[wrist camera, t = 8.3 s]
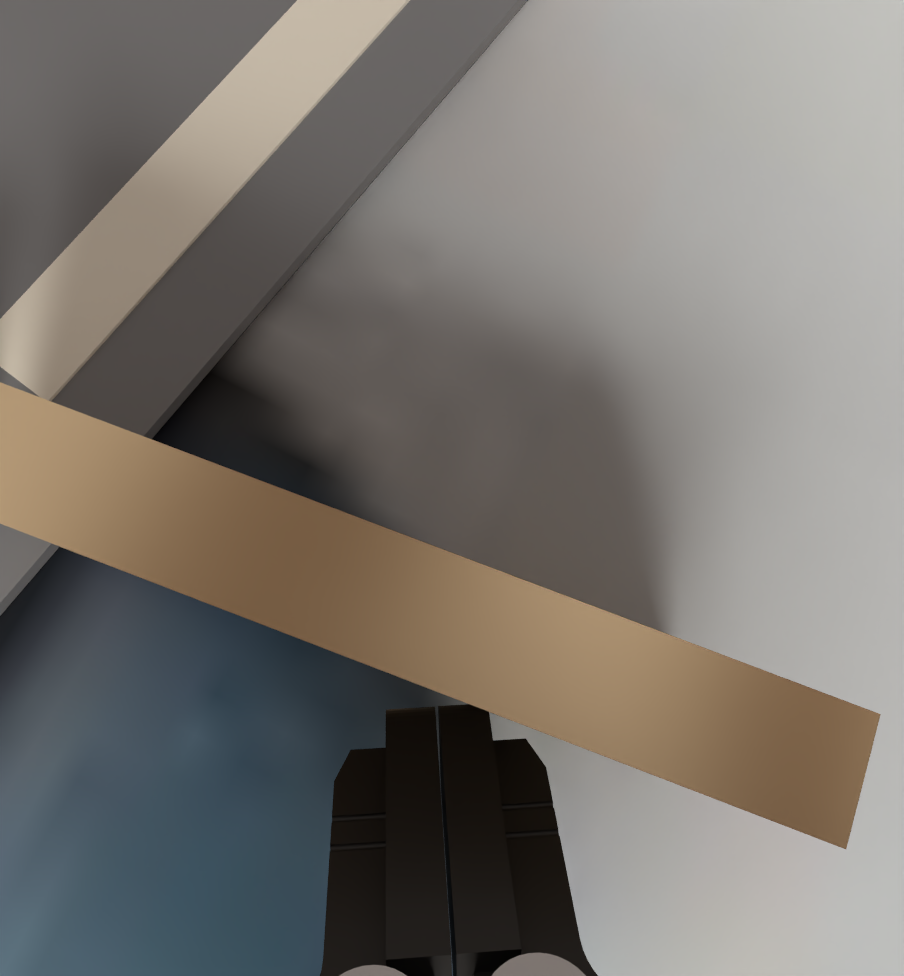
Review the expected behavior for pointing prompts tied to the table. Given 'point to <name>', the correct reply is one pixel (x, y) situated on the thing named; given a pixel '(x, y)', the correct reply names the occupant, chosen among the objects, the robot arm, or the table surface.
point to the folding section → (434, 618)
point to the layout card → (188, 179)
